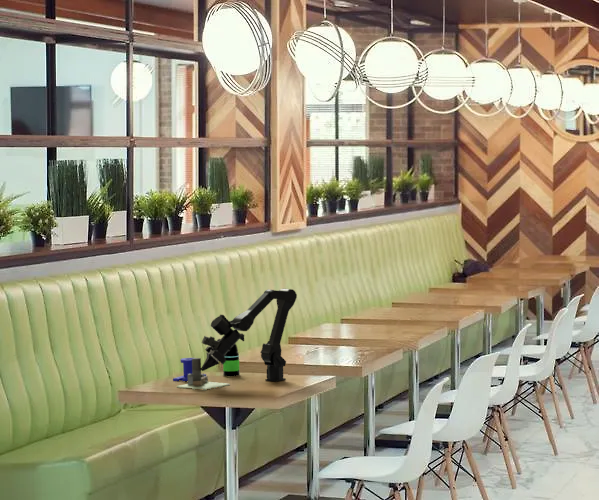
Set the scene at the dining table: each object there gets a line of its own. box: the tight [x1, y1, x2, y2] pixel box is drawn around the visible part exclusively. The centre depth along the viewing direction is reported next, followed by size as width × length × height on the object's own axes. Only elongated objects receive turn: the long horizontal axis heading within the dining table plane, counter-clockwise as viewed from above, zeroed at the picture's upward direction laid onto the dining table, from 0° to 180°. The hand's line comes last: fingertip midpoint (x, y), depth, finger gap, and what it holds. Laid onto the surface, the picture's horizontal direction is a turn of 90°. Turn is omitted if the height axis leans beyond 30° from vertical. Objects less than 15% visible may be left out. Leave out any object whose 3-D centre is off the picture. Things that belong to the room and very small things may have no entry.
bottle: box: [222, 343, 241, 377], centre depth 533 cm, size 7×7×15 cm
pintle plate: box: [176, 381, 231, 391], centre depth 505 cm, size 16×15×1 cm
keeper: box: [187, 373, 205, 385], centre depth 506 cm, size 3×6×5 cm, turn 78°
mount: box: [172, 357, 207, 382], centre depth 526 cm, size 15×8×9 cm, turn 153°
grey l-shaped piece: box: [191, 357, 209, 386], centre depth 506 cm, size 14×4×11 cm, turn 172°
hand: (201, 370), depth 501 cm, fingers closed
